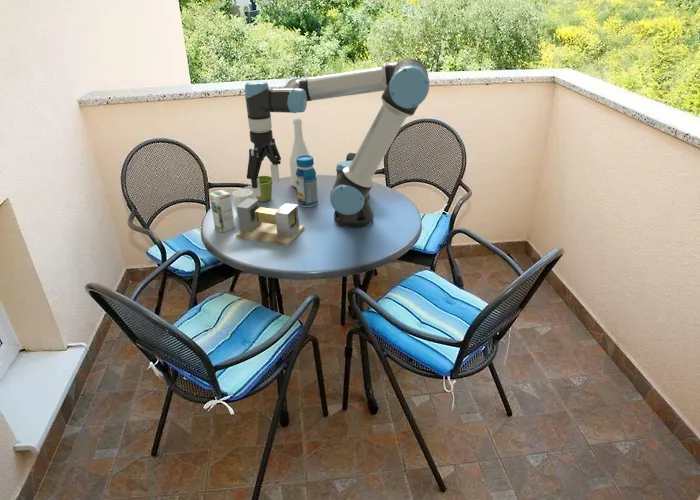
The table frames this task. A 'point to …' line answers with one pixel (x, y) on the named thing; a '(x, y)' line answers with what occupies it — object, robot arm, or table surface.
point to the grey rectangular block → (286, 220)
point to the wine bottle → (297, 149)
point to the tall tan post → (269, 216)
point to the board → (268, 234)
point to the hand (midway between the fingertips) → (266, 188)
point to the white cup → (241, 196)
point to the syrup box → (222, 210)
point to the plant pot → (265, 188)
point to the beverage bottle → (306, 181)
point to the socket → (248, 215)
